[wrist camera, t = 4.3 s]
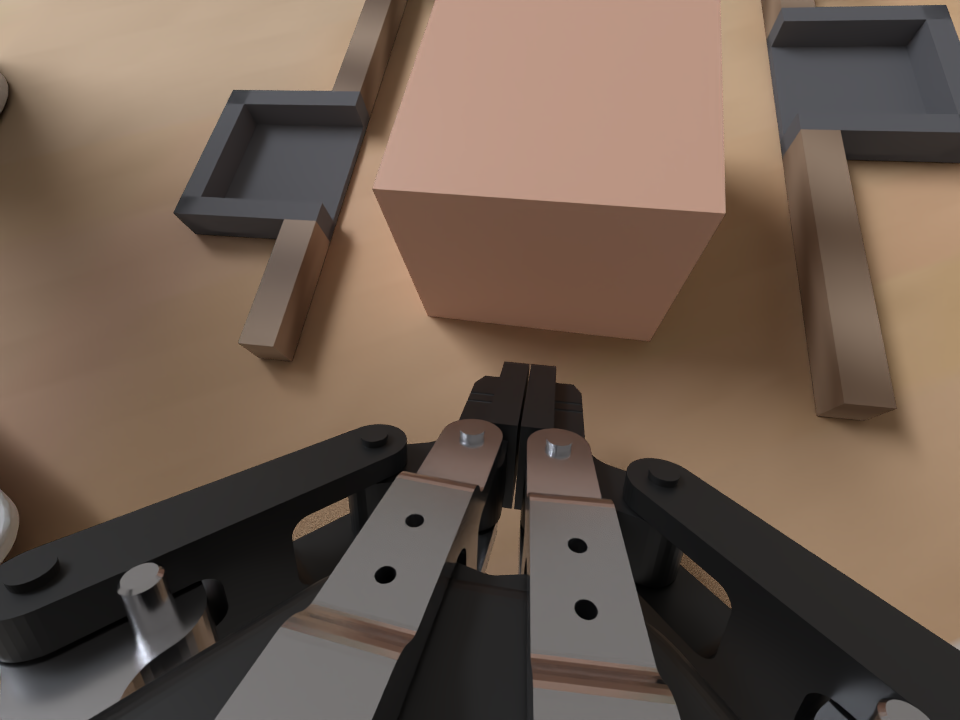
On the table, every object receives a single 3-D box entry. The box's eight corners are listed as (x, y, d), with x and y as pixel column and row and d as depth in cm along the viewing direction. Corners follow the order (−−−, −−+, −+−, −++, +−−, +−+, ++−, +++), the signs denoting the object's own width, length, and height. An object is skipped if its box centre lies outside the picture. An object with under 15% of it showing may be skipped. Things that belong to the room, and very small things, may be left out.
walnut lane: (863, 420, 16) (896, 408, 14) (259, 357, 19) (237, 343, 18) (782, -53, 26) (796, -87, 24) (398, -40, 29) (391, -69, 28)
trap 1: (959, 162, 19) (993, 133, 18) (782, 157, 20) (800, 129, 19) (919, 38, 22) (945, 4, 21) (766, 39, 23) (781, 7, 22)
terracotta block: (648, 342, 18) (725, 213, 11) (428, 317, 19) (371, 188, 12) (657, 151, 21) (719, -37, 14) (471, 142, 23) (446, -34, 16)
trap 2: (329, 242, 21) (315, 220, 20) (195, 234, 22) (173, 213, 21) (369, 117, 24) (360, 91, 22) (249, 115, 25) (232, 89, 23)
